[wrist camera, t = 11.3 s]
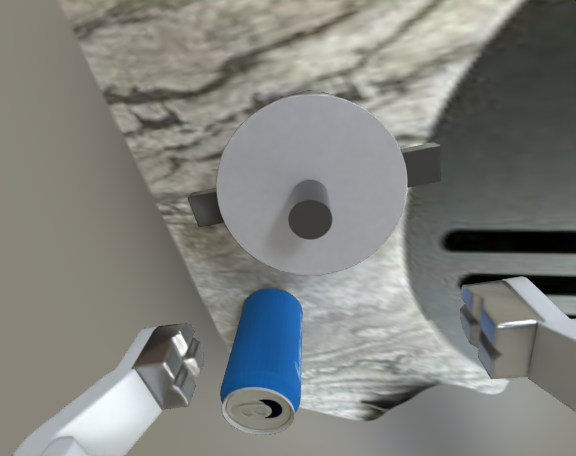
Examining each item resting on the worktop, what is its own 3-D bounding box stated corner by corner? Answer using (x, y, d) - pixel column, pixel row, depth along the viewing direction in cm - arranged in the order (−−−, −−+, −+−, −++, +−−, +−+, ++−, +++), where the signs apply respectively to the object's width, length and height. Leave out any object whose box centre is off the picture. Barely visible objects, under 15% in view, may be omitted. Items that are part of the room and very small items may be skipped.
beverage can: (307, 326, 35) (306, 436, 25) (252, 331, 36) (229, 440, 25) (297, 280, 32) (291, 382, 22) (238, 287, 33) (205, 388, 23)
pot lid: (194, 119, 19) (163, 132, 15) (395, 69, 17) (422, 68, 13) (249, 278, 24) (237, 319, 20) (408, 252, 22) (430, 292, 18)
